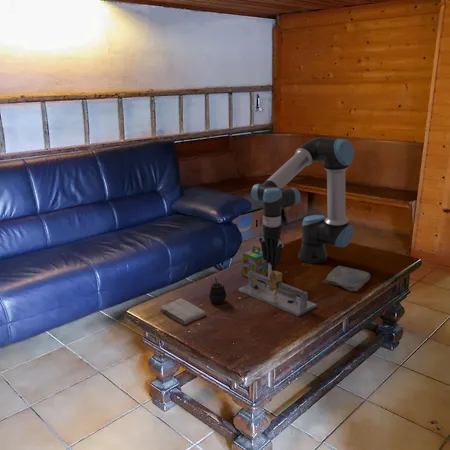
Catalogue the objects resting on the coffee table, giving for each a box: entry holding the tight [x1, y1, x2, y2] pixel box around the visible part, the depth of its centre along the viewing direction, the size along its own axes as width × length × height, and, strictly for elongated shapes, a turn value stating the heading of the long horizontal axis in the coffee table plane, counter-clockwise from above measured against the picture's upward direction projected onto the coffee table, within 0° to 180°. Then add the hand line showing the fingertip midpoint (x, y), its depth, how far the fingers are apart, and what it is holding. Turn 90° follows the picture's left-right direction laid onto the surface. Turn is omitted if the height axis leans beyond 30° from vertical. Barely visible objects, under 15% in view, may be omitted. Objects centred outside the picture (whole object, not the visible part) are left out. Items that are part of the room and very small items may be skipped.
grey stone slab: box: [322, 265, 371, 292], centre depth 221 cm, size 20×5×17 cm
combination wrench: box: [264, 282, 300, 300], centre depth 208 cm, size 4×1×20 cm
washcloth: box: [159, 297, 207, 325], centre depth 194 cm, size 12×18×3 cm, turn 43°
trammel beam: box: [238, 271, 317, 317], centre depth 204 cm, size 12×34×8 cm, turn 43°
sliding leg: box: [269, 270, 283, 295], centre depth 204 cm, size 4×4×10 cm
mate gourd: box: [209, 276, 227, 305], centre depth 202 cm, size 7×8×10 cm
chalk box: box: [241, 245, 268, 278], centre depth 228 cm, size 9×9×15 cm
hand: (271, 276), depth 204 cm, fingers closed
